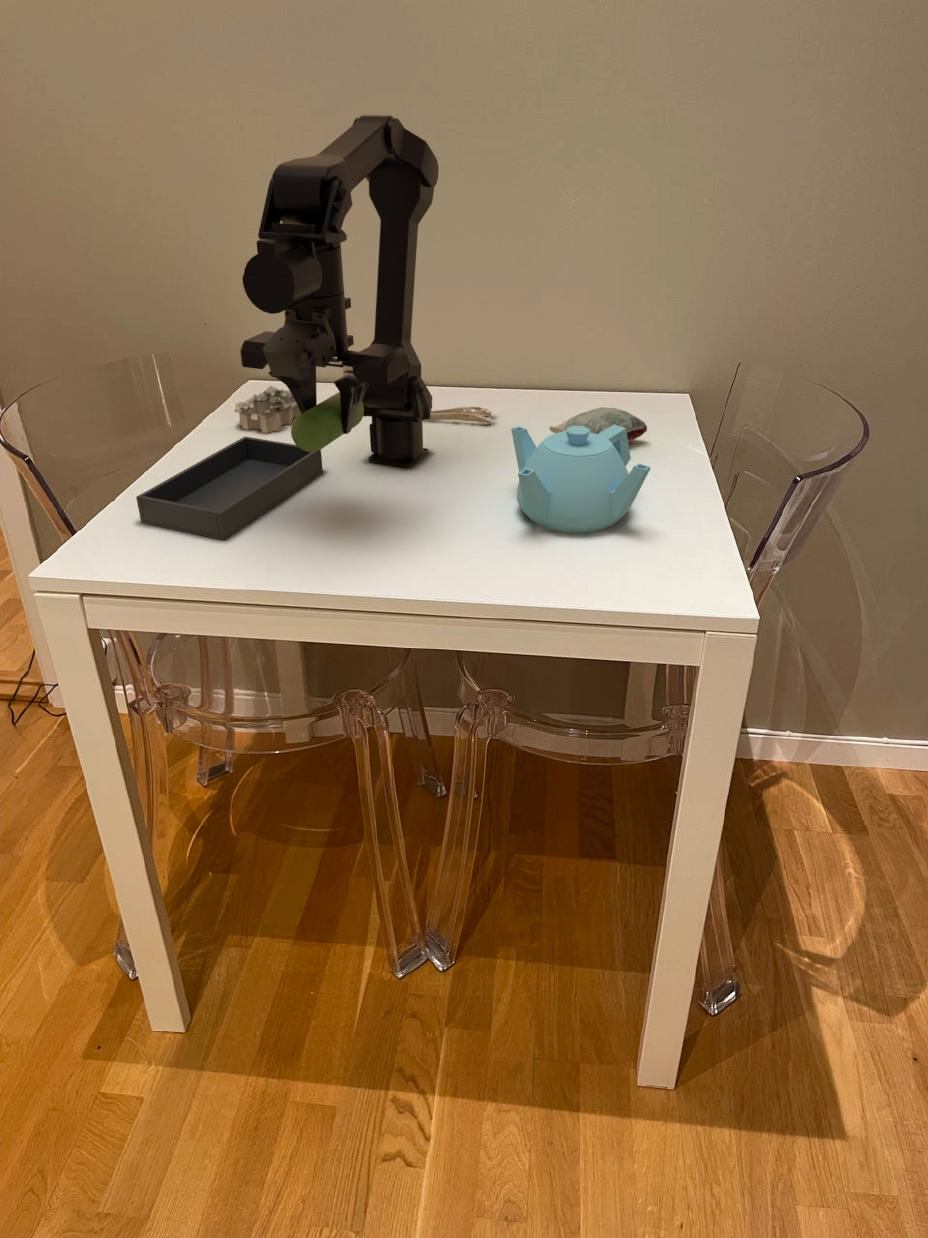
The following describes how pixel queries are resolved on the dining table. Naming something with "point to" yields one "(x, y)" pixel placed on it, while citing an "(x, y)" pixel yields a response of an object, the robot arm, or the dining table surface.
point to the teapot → (576, 478)
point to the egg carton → (268, 410)
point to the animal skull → (462, 414)
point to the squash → (321, 424)
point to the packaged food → (605, 422)
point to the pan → (229, 487)
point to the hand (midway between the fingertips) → (329, 430)
